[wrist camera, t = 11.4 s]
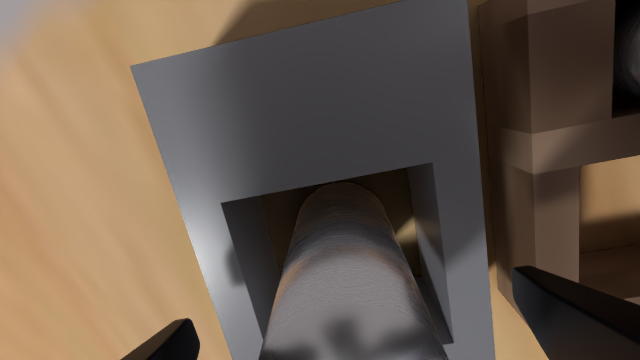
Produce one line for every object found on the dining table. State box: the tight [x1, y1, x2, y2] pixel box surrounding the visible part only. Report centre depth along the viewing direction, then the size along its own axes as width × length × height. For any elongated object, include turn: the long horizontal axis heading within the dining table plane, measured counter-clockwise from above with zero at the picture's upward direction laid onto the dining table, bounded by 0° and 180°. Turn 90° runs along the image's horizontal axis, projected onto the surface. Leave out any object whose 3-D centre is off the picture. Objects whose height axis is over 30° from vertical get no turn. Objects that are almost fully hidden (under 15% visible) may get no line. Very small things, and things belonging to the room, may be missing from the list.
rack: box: [130, 0, 495, 360], centre depth 12 cm, size 9×12×4 cm
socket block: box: [478, 0, 640, 328], centre depth 11 cm, size 8×12×3 cm, turn 12°
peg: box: [258, 182, 449, 360], centre depth 10 cm, size 4×4×8 cm
